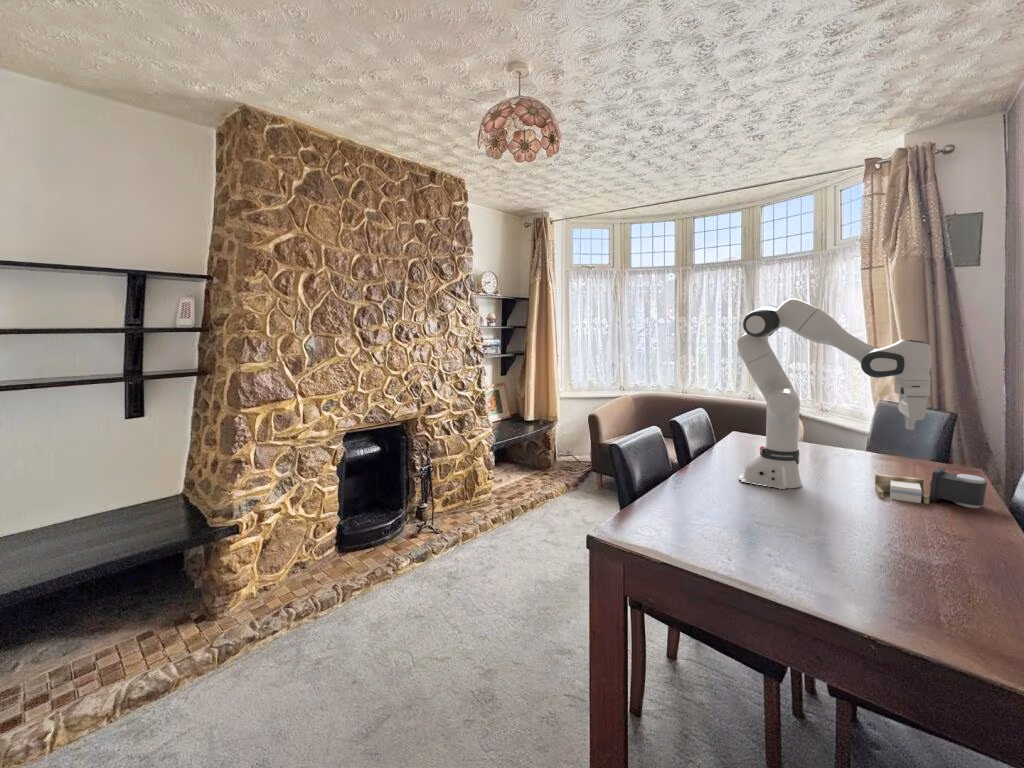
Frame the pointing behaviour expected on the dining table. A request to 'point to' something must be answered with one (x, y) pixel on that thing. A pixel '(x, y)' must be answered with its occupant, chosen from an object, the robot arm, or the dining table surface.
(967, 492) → the light fixture
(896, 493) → the carton
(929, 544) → the dining table surface
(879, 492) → the stand
